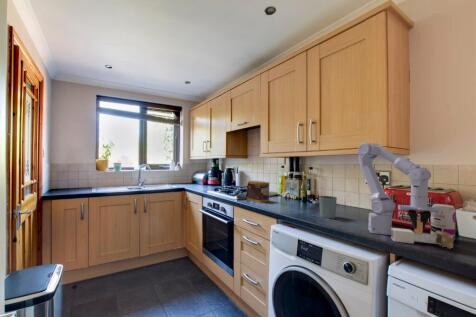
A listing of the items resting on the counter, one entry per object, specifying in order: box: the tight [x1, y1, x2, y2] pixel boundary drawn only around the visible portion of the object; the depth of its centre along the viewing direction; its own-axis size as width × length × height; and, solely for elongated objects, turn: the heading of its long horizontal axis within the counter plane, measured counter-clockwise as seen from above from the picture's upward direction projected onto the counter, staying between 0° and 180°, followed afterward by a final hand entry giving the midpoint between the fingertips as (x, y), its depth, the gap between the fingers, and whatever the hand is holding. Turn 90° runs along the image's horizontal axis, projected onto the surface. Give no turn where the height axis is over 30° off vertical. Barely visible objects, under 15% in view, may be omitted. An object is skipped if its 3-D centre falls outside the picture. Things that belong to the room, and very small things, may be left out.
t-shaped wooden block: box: [390, 219, 437, 245], centre depth 100 cm, size 15×3×8 cm, turn 71°
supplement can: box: [430, 203, 457, 241], centre depth 105 cm, size 8×8×15 cm
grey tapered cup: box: [318, 195, 338, 219], centre depth 142 cm, size 10×10×12 cm
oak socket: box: [436, 231, 454, 249], centre depth 97 cm, size 3×6×5 cm, turn 161°
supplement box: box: [246, 180, 270, 203], centre depth 193 cm, size 10×15×16 cm
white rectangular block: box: [390, 227, 415, 245], centre depth 101 cm, size 7×5×5 cm, turn 71°
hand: (418, 228), depth 99 cm, fingers closed on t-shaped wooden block, 2 cm apart
